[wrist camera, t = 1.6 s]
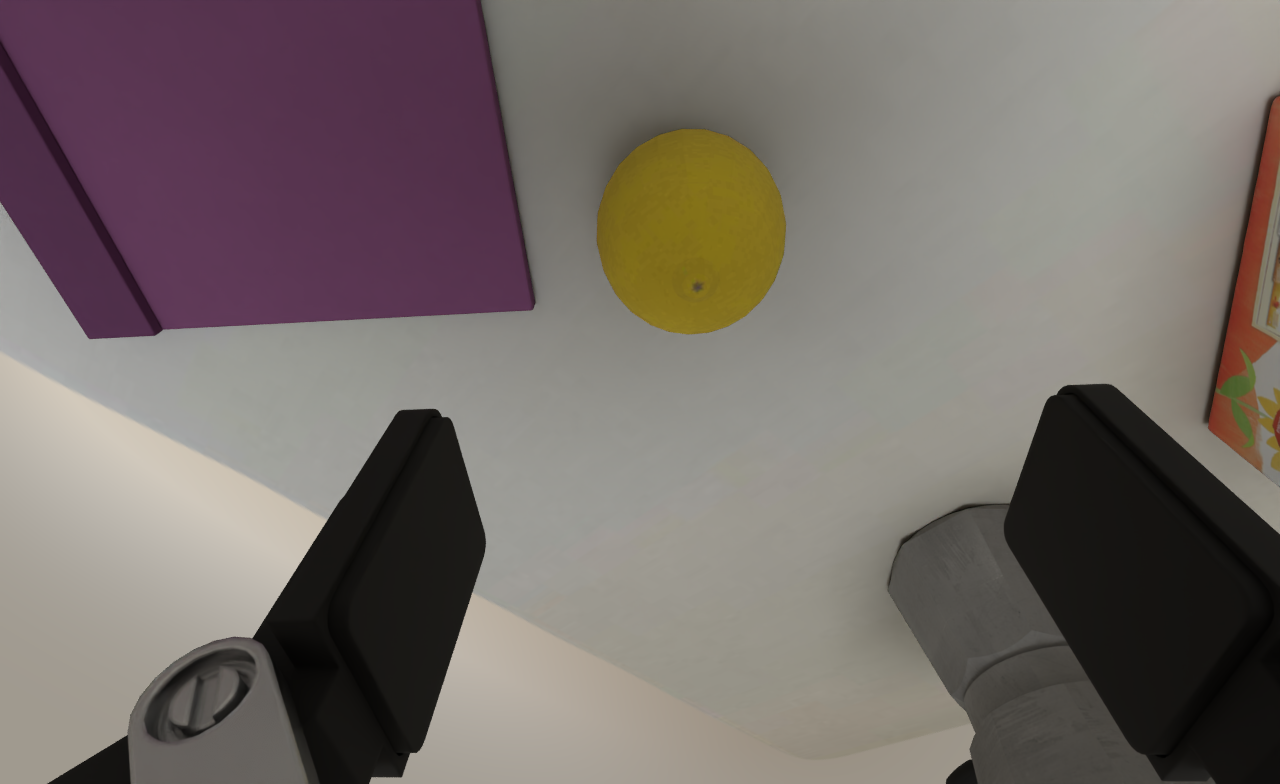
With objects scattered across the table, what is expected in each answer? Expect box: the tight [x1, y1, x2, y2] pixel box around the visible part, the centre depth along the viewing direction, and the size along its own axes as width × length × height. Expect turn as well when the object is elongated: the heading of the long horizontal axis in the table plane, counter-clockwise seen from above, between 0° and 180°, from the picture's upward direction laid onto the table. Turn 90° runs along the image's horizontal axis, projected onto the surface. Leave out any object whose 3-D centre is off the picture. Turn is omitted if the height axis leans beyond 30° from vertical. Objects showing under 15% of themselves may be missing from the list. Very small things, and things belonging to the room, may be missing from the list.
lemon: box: [597, 129, 786, 334], centre depth 18 cm, size 6×6×8 cm
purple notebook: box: [0, 0, 535, 339], centre depth 21 cm, size 14×18×1 cm
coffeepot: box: [888, 504, 1216, 784], centre depth 25 cm, size 15×9×18 cm, turn 158°
